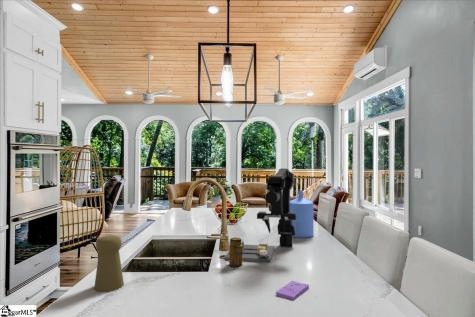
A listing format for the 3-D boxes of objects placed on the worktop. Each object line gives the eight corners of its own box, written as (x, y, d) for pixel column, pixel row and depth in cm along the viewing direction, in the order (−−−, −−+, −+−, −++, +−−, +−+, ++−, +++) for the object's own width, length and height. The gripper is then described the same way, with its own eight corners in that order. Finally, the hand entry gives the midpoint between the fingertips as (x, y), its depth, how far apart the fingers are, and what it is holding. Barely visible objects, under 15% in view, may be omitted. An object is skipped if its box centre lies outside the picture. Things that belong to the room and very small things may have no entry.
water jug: (319, 235, 195) (318, 191, 196) (301, 239, 187) (300, 192, 187) (300, 231, 208) (300, 189, 209) (283, 234, 200) (283, 190, 200)
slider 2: (266, 252, 154) (266, 246, 154) (265, 254, 151) (265, 248, 151) (258, 252, 155) (258, 246, 155) (257, 253, 152) (257, 247, 152)
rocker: (243, 241, 171) (243, 239, 170) (240, 248, 163) (240, 246, 163) (236, 240, 171) (236, 238, 171) (233, 247, 164) (233, 245, 163)
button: (268, 255, 150) (268, 250, 150) (267, 257, 146) (267, 252, 146) (259, 254, 150) (259, 249, 151) (258, 257, 147) (258, 252, 147)
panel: (274, 248, 167) (274, 241, 168) (270, 262, 145) (270, 253, 145) (234, 246, 172) (234, 239, 172) (224, 259, 149) (224, 251, 149)
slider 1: (267, 248, 161) (267, 242, 161) (267, 250, 158) (266, 244, 158) (259, 248, 162) (259, 242, 162) (259, 249, 159) (259, 244, 159)
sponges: (309, 289, 116) (309, 284, 116) (293, 301, 106) (293, 296, 106) (292, 285, 120) (292, 280, 120) (275, 296, 110) (275, 291, 110)
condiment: (240, 261, 147) (240, 236, 147) (247, 267, 139) (246, 240, 139) (225, 263, 144) (225, 237, 144) (231, 269, 136) (231, 242, 136)
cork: (105, 294, 112) (105, 241, 112) (88, 288, 117) (87, 237, 117) (129, 284, 121) (129, 235, 121) (112, 279, 126) (112, 232, 126)
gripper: (296, 199, 158) (296, 230, 158) (259, 199, 162) (259, 229, 162) (295, 202, 147) (295, 235, 147) (256, 201, 151) (256, 233, 151)
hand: (276, 233), depth 152 cm, fingers open, 6 cm apart
